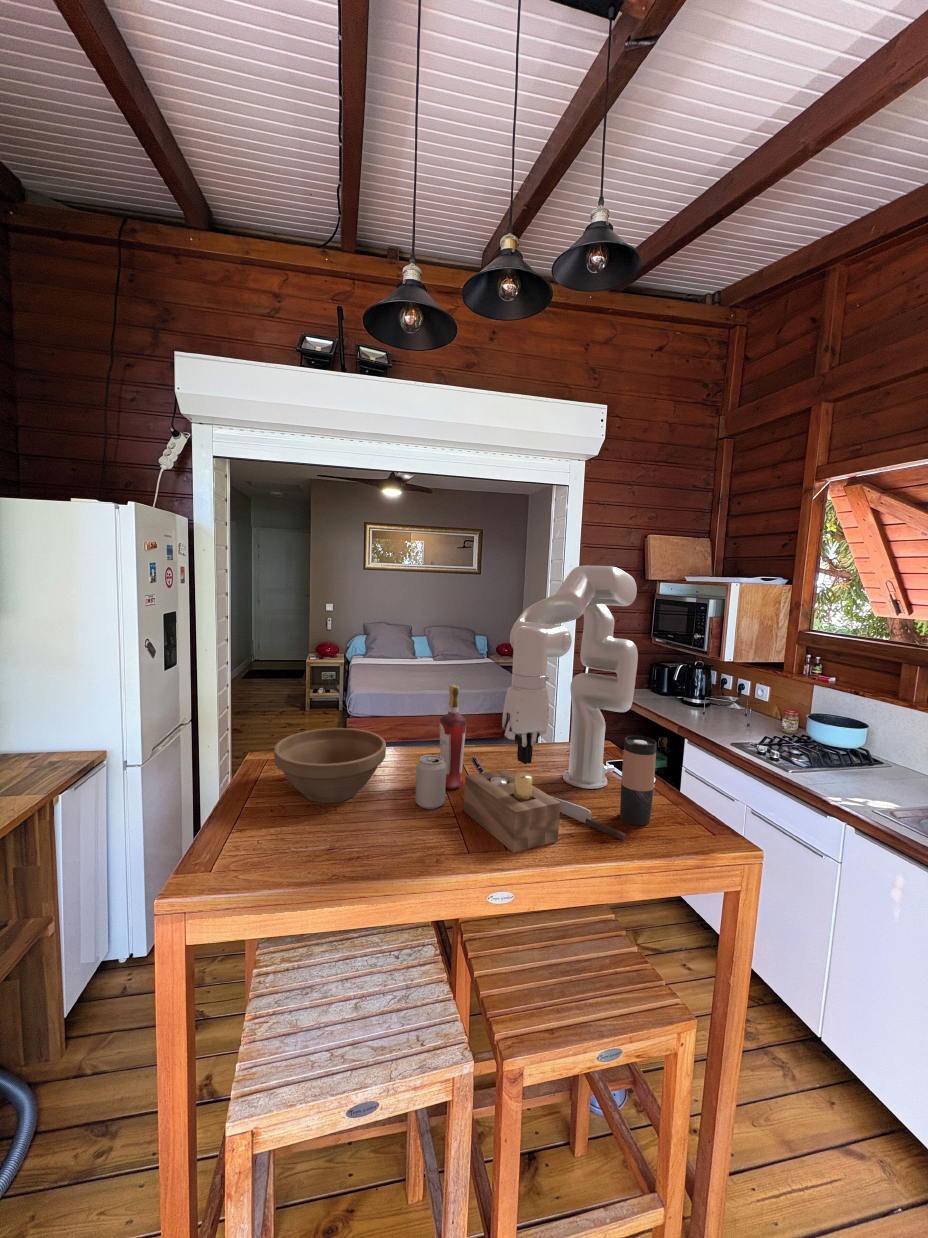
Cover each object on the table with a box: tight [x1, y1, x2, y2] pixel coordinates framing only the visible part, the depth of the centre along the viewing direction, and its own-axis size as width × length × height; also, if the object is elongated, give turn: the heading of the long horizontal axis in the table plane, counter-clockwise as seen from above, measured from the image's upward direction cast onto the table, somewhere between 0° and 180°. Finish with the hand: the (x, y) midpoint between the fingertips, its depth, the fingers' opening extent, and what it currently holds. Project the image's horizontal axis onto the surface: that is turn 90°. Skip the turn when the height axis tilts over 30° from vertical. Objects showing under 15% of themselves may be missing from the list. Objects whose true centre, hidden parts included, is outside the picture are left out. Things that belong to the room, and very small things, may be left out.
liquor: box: [439, 685, 467, 790], centre depth 148 cm, size 7×7×28 cm
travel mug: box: [619, 735, 657, 826], centre depth 133 cm, size 8×8×20 cm
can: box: [414, 754, 446, 810], centre depth 137 cm, size 8×8×12 cm
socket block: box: [463, 768, 561, 854], centre depth 127 cm, size 12×22×9 cm, turn 29°
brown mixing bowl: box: [273, 727, 387, 804], centre depth 141 cm, size 28×28×13 cm
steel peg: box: [491, 777, 507, 786], centre depth 131 cm, size 4×4×8 cm
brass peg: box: [514, 771, 534, 802], centre depth 122 cm, size 4×4×8 cm
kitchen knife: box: [549, 795, 627, 841], centre depth 134 cm, size 4×1×30 cm
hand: (524, 761), depth 122 cm, fingers closed
